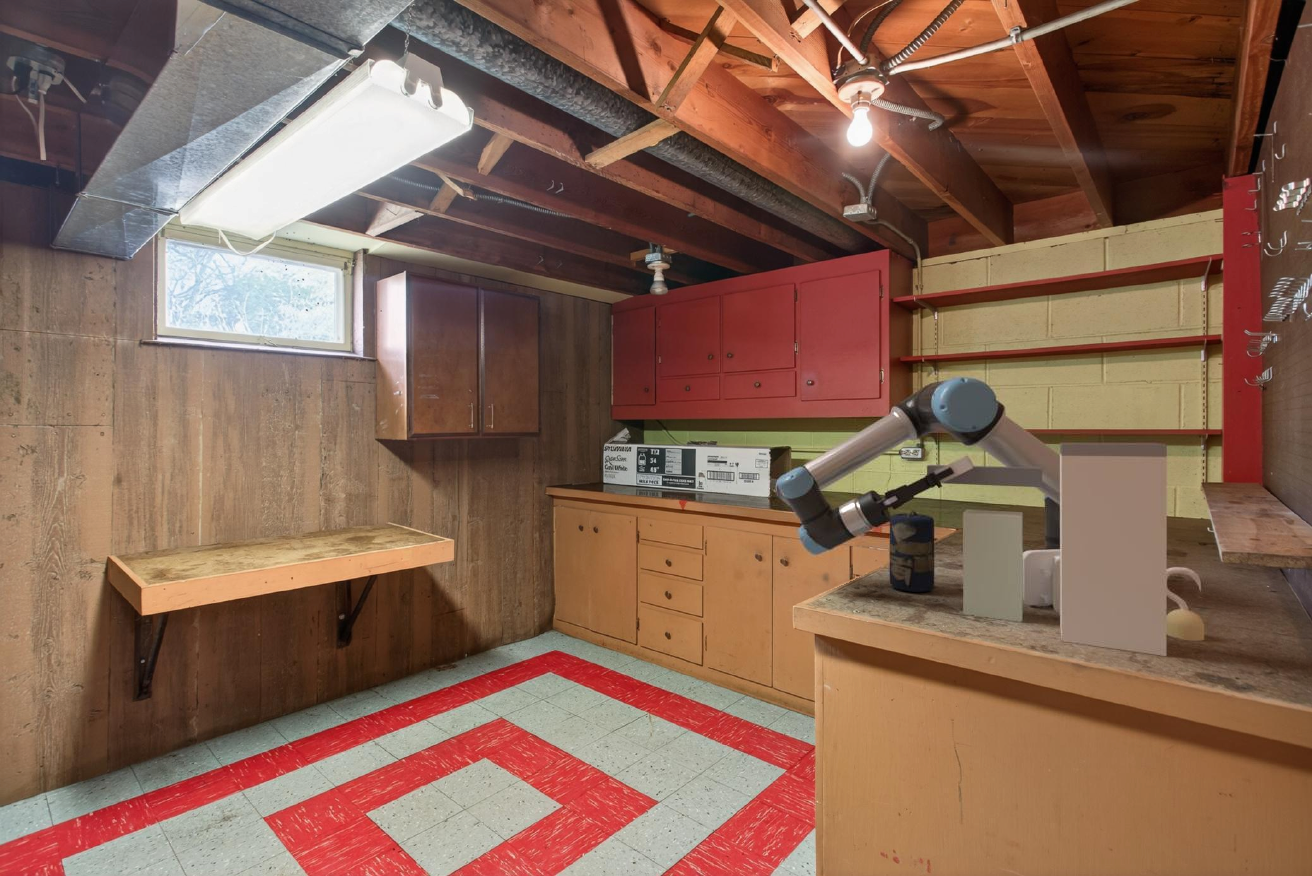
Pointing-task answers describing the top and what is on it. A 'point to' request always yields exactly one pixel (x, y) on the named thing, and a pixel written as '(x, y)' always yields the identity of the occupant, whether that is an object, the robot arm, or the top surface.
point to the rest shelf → (993, 564)
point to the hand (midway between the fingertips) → (969, 461)
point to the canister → (912, 552)
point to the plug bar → (995, 476)
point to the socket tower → (1114, 545)
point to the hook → (1183, 613)
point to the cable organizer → (1042, 578)
